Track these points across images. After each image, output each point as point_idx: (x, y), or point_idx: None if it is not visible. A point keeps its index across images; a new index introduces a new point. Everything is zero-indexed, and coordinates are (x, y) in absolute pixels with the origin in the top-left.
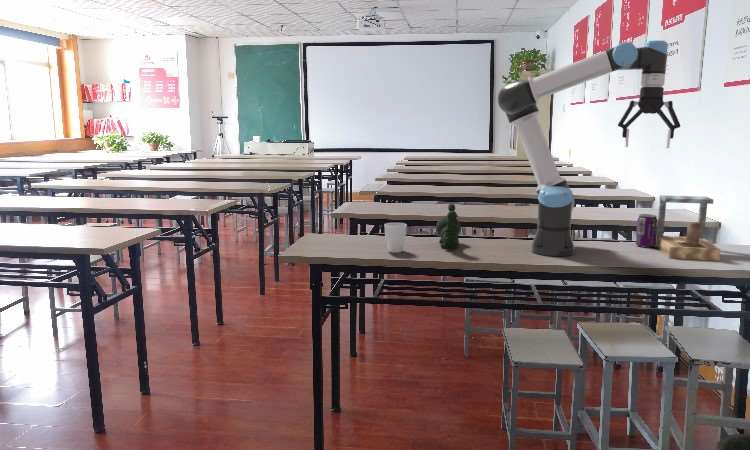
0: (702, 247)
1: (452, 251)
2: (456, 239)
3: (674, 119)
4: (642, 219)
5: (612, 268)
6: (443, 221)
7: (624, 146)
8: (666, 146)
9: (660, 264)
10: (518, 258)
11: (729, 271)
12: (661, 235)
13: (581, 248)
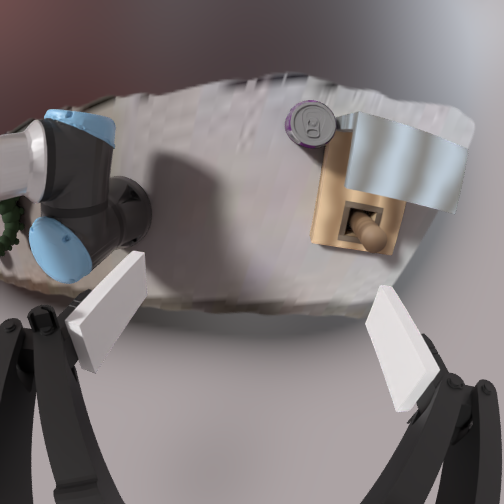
0: None
1: (24, 229)
2: (17, 244)
3: (445, 469)
4: (293, 138)
5: (197, 308)
6: None
7: (131, 253)
8: (372, 318)
9: (276, 281)
10: None
11: (358, 310)
12: (340, 131)
13: (168, 168)
